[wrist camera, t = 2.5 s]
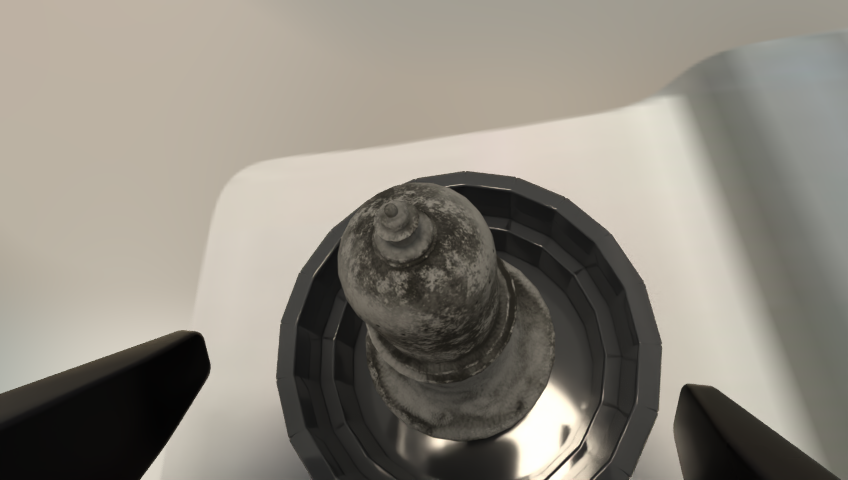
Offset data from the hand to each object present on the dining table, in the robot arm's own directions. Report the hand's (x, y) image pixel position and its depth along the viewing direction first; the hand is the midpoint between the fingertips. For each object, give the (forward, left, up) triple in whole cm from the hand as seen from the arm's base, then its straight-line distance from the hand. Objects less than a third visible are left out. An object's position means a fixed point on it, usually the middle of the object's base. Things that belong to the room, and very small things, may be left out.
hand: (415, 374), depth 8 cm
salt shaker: (+2, 0, -9) cm, 9 cm away
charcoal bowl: (+2, 0, -9) cm, 9 cm away
